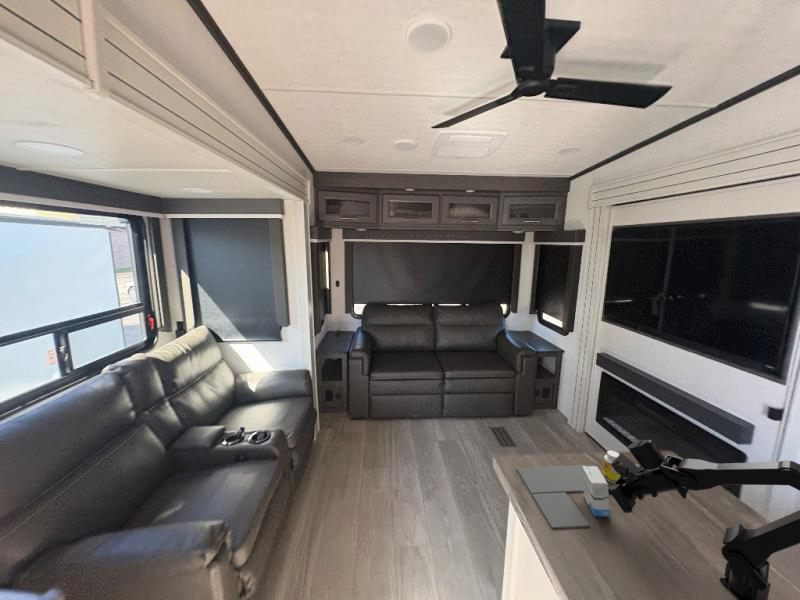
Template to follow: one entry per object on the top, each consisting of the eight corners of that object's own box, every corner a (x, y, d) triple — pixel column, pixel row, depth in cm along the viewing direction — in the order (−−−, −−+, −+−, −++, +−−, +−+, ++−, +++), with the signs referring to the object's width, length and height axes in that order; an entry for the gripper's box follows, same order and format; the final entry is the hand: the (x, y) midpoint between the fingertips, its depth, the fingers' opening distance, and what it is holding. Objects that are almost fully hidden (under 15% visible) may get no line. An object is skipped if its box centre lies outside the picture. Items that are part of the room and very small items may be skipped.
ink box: (610, 517, 97) (608, 484, 95) (593, 516, 98) (591, 483, 96) (599, 496, 105) (597, 465, 103) (583, 495, 106) (581, 465, 105)
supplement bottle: (600, 471, 117) (602, 447, 116) (617, 475, 116) (620, 450, 114) (604, 482, 112) (606, 456, 111) (622, 485, 110) (625, 460, 109)
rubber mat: (639, 524, 95) (640, 522, 95) (551, 528, 94) (552, 527, 94) (585, 466, 121) (586, 464, 121) (516, 469, 119) (516, 467, 119)
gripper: (642, 441, 97) (600, 454, 108) (622, 467, 86) (577, 478, 96) (671, 477, 92) (624, 487, 103) (653, 510, 81) (602, 517, 91)
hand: (607, 491), depth 98 cm, fingers closed
